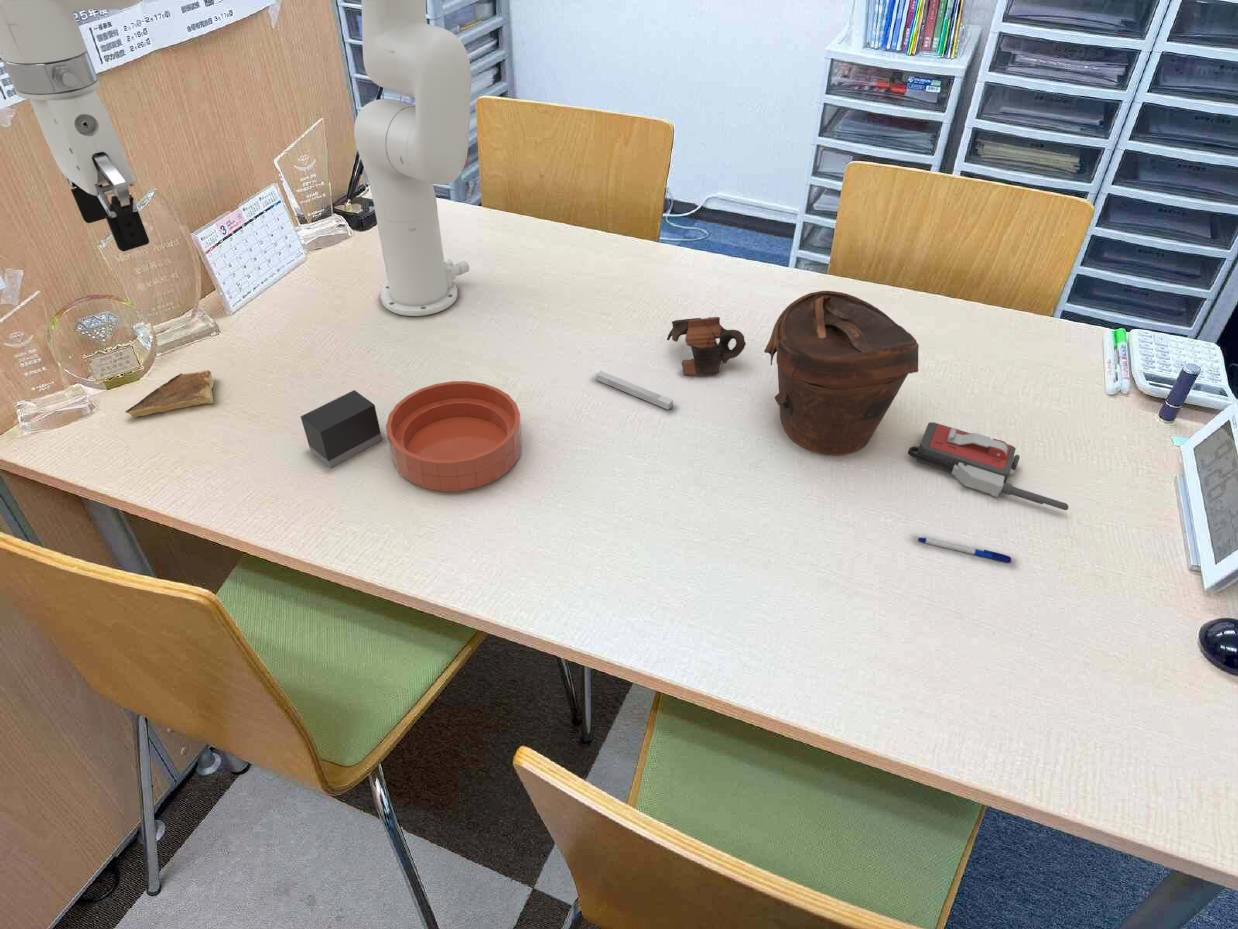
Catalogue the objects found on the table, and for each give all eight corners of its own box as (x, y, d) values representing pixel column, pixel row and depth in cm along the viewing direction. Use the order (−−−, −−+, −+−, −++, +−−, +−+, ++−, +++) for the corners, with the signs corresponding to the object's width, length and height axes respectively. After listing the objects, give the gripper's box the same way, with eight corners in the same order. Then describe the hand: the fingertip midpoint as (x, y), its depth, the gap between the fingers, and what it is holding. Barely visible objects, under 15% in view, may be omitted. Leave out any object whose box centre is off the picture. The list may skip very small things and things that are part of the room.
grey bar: (596, 379, 122) (596, 374, 121) (600, 376, 122) (600, 370, 122) (668, 409, 117) (668, 404, 116) (672, 405, 117) (673, 400, 117)
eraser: (362, 425, 113) (354, 389, 109) (382, 440, 110) (374, 404, 106) (310, 452, 108) (300, 416, 104) (330, 468, 106) (320, 432, 102)
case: (787, 371, 125) (808, 263, 113) (915, 420, 116) (951, 309, 104) (729, 430, 114) (745, 317, 102) (865, 489, 105) (900, 373, 93)
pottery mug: (663, 377, 124) (659, 322, 122) (679, 370, 132) (675, 319, 131) (742, 373, 119) (739, 316, 118) (754, 366, 128) (751, 313, 127)
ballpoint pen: (1009, 559, 97) (1012, 553, 96) (1010, 564, 96) (1013, 558, 96) (917, 539, 99) (919, 533, 98) (917, 544, 98) (919, 538, 98)
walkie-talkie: (901, 469, 108) (1063, 521, 102) (909, 443, 105) (1077, 495, 99) (915, 432, 114) (1069, 479, 107) (924, 407, 111) (1083, 453, 105)
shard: (128, 420, 112) (123, 410, 111) (133, 389, 118) (128, 378, 117) (214, 405, 115) (210, 395, 114) (214, 375, 121) (210, 365, 119)
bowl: (466, 398, 118) (463, 366, 114) (548, 451, 109) (546, 418, 106) (367, 452, 108) (359, 420, 105) (448, 515, 100) (442, 481, 96)
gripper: (126, 85, 80) (183, 247, 92) (60, 48, 89) (119, 200, 101) (43, 102, 76) (113, 269, 88) (-17, 61, 85) (53, 218, 96)
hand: (116, 232), depth 94 cm, fingers open, 9 cm apart
